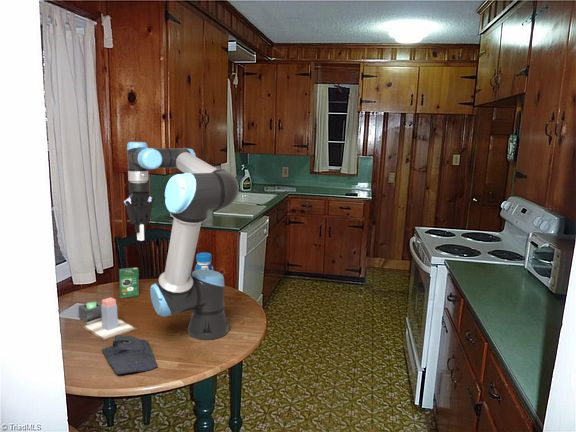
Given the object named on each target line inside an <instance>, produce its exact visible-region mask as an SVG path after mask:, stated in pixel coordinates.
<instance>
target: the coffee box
mask: <svg viewBox="0 0 576 432" xmlns="http://www.w3.org/2000/svg"><path fill="white" fill-rule="evenodd" d="M118 273H119V274H118V277H119V278H118V280H119V281H118V282H119V284H118V285H119V287H118V288H119V298H120V299H127V298H133V297H139V295H140V294H139V293H140V292H139V287H140V286H139V268H138V267H126V268H119V269H118Z"/></svg>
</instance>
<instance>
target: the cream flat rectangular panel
mask: <svg viewBox="0 0 576 432" xmlns="http://www.w3.org/2000/svg"><path fill="white" fill-rule="evenodd" d="M80 327H81V328H82V329H84V330H85V331H87V332H88V333H90V334H92V335H93V336H94V337H97V338H99V339H100V340H101V341H102V342H105V341H107V340H110V339H115V336H116V335H124V334H127V333H130V332H132V331H136V330H137V329H138V328H137V327H135V326H134V325H132V324H130V323H128V322H127V321H124V320H123V319H121V318H119V317H118V328H115V329H112V330H109V331H107V330H106V329H104V328H102V318H99V319H95V320H92V321H89V322H85V323H83V324H82V325H80Z"/></svg>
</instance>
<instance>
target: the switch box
mask: <svg viewBox="0 0 576 432" xmlns="http://www.w3.org/2000/svg"><path fill="white" fill-rule="evenodd" d="M94 301H95V302H96V306H97V307H94V308H91V309H88V308H87V307H86V303H85V304H80V305H78V317H79V319H80V320H81V321H83V322H85V323H86V322H89V321H92V320H95V319H99V318H102V311H101V305H102V303H100V302H99V301H96V300H94Z"/></svg>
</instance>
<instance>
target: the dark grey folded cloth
mask: <svg viewBox="0 0 576 432" xmlns="http://www.w3.org/2000/svg"><path fill="white" fill-rule="evenodd" d="M101 350H102V351H101V352H102V353H103V355H104V356H105V359H106V360H107V362H108V364H109V365H110V366H111V367H112V369H113V371H114V372H115V373H116V374H118V375H125V374H130V373H137V372H138V373H142V372H147V371H153V370H155V369H158V368H159V365H158V363H157V360H156V358H155V354H154V353H153V352H154V351H153V350H152V348H151V346H150V343H149V341H148V340H147V339H140V338H137V337H135V336H133V335H127V334H126V335H124V334H122V335H116V336H115V337H114V339H113V341H112V345H110V346H109V347H108V346H107V347H104V348H102V349H101Z"/></svg>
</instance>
